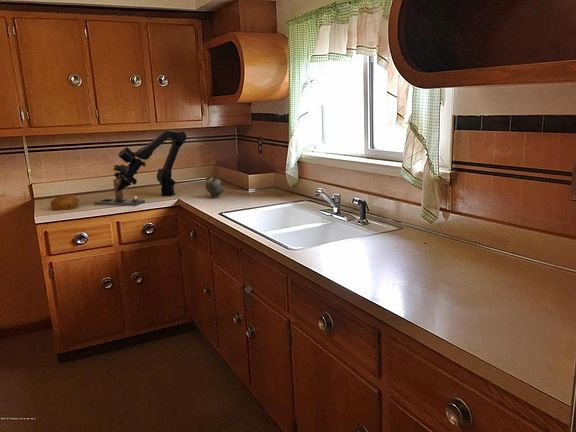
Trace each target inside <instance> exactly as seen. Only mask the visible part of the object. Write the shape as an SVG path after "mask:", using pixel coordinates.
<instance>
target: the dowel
mask: <svg viewBox="0 0 576 432" xmlns="http://www.w3.org/2000/svg"><path fill="white" fill-rule="evenodd" d="M112 181H113V182H112V183H113V190H114V197H115V198H114V199H116V202H123V199H124V193H123V189H122V190H120V191H117V189H118V187H119V185H120V183H121V179H116V178H115V179H113V180H112Z"/></svg>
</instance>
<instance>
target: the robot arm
mask: <svg viewBox="0 0 576 432" xmlns="http://www.w3.org/2000/svg"><path fill="white" fill-rule="evenodd" d="M168 139H171V145H170V149H169V150H168V151H169V152H168V154H167V157H166V158H165V161H164V164H163V167H162V168H158V170H157V173H156V179H157V181H158V182H159V184H160V186H161V188H160V191H161V194H160V197H172V196H174V195H177V193H175V185H176V181H175V180H174V179H173V178H172V169H173V166H174V165H175V161H176V159H177V156H178V153H179V150H180V148H181V147H182V145H184V143H185V142H186V140H187V134H186V133H185V132H184V131H170V130H164V131H162V132H161V133H160V134H159V135H158V136H156V137H155V138H154V139H153V140H152V141H151V142H149V143H148V144H147V145H144V146H143V147H141V148H139V149H137V151H134V152H133V151H132V150H131V149H130V148H129V147H127V146H125V147H124V148H123V149H122V150H120V151H119V153H118V157H119V158H120V159H121V160H122V161H124V163H127V164H128V165H124V164H120V165H119V164H114V167H113V171H116V172H115V173H114V174H113V176H114V177H115V179H121V183H120V185H119V187H118V189H117V191H120V190H122V191H123V189H126V188H127V187H129V186H132V185H134V186H135V185H136V184H137V182H138V180H137V179H136V178H135V175H137V174H138V171H139V170H140V168H141V167H144V168H145V167H146V162H145V161H147V160H149V159H150V157H152V155H153V153H154V151H156V150H157V148H159V146H161V145H162V144H163V143H165V142H166V141H167V140H168ZM144 160H145V161H144Z"/></svg>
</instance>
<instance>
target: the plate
mask: <svg viewBox="0 0 576 432" xmlns="http://www.w3.org/2000/svg"><path fill="white" fill-rule="evenodd" d="M93 203H94V205H95V206H98V205H99V206H127V207H130V206H132V207H137V206H139V205H142V204H144V203H146V200H145V199H138V195H132V199H131V198H129V199H128V198H127V199H126V198H123V202H116V198H103V199H99V200H97V201H94V202H93Z"/></svg>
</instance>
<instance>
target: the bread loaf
mask: <svg viewBox="0 0 576 432" xmlns="http://www.w3.org/2000/svg"><path fill="white" fill-rule="evenodd" d="M79 202H80V199H79V198H78V197H77V196H75V195H73V194H70V193H69V194H62V195H59V196H57V197H55V198H53V200H51V201H50V207H51V209H52V210H54V211H67V210H74V209H76V208H77V207H78V206H79V204H80V203H79Z"/></svg>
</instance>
